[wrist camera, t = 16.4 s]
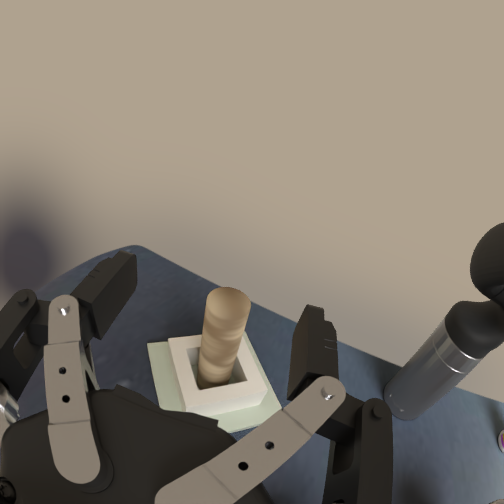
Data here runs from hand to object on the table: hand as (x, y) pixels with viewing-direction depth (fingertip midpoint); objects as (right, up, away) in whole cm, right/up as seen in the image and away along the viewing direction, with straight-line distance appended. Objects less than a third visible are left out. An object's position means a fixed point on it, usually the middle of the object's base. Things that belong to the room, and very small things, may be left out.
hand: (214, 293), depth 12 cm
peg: (-4, -16, +24) cm, 29 cm away
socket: (-4, -17, +25) cm, 30 cm away
